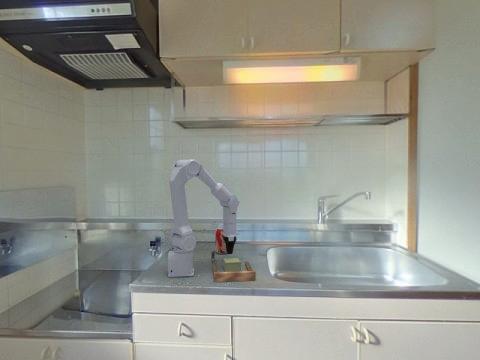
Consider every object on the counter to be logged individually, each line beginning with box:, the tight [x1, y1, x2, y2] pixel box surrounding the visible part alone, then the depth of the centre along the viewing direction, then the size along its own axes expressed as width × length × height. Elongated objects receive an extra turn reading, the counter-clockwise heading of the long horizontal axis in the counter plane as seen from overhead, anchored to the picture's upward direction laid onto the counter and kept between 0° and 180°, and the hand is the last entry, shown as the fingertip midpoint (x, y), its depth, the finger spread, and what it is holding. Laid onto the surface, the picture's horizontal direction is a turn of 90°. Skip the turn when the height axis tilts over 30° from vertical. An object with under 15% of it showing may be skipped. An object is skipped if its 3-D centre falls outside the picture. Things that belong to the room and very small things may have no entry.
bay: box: [212, 261, 257, 283], centre depth 121 cm, size 15×18×3 cm
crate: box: [222, 256, 242, 272], centre depth 125 cm, size 6×7×4 cm
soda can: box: [214, 226, 228, 255], centre depth 149 cm, size 7×7×12 cm
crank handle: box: [210, 250, 216, 264], centre depth 137 cm, size 8×1×3 cm, turn 7°
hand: (229, 253), depth 135 cm, fingers closed
